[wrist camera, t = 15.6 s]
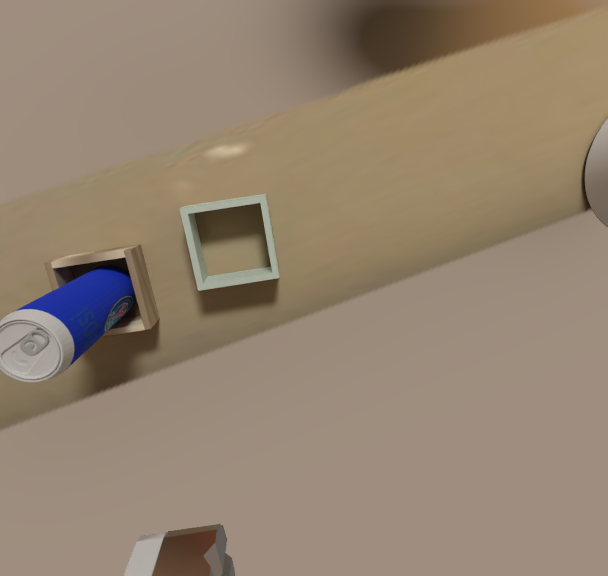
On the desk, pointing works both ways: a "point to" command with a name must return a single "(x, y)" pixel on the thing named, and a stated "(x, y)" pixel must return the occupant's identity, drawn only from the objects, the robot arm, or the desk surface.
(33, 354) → the beverage can
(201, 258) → the bin sage
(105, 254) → the bin oak
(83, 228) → the desk surface
